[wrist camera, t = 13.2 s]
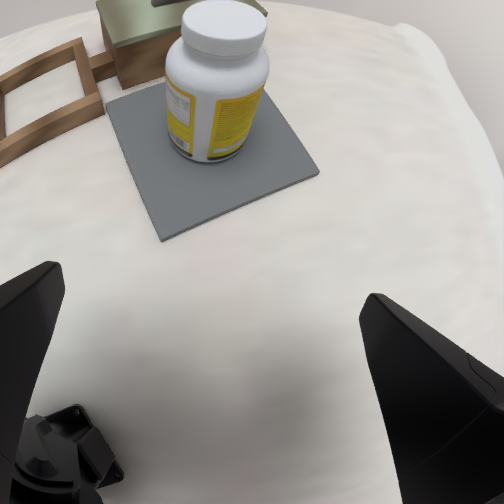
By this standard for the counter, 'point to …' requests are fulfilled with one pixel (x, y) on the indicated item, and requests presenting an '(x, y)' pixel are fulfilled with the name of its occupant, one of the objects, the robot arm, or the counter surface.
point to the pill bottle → (215, 78)
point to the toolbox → (100, 65)
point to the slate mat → (203, 163)
